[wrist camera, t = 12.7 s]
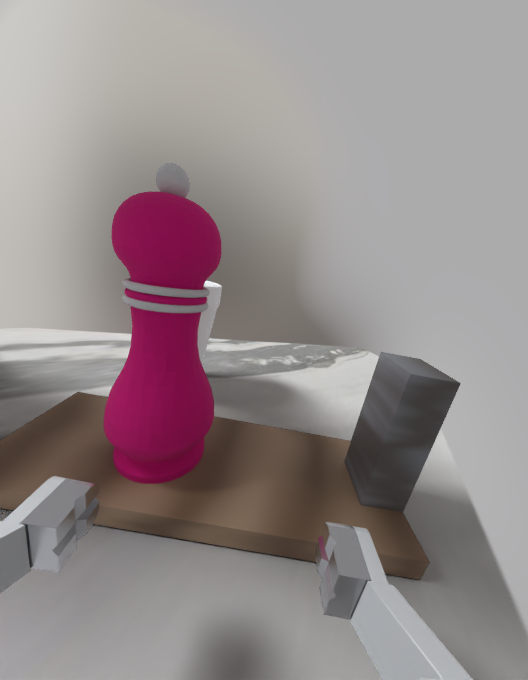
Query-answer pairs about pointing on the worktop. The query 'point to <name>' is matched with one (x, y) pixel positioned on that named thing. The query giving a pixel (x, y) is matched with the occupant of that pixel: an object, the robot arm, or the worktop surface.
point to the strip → (257, 472)
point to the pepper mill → (162, 332)
